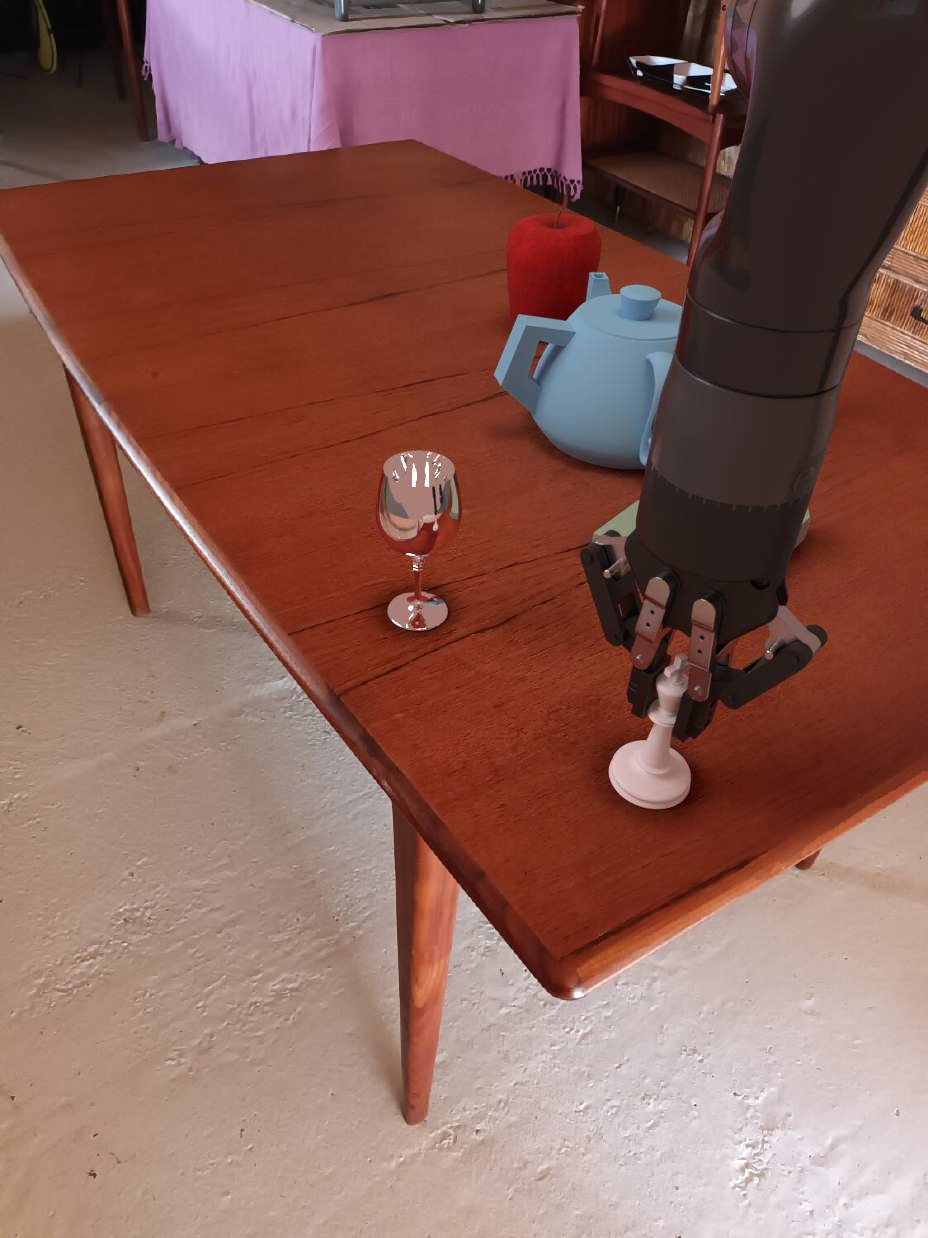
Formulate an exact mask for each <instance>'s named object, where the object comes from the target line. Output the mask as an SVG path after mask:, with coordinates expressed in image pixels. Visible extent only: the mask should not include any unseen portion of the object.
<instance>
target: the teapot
mask: <svg viewBox="0 0 928 1238" xmlns="http://www.w3.org/2000/svg"><path fill="white" fill-rule="evenodd" d="M661 297H662V293H661V291H659V290H658V289H656V288H654V287H652V286H649V285H645V284H629V285H625V286H622V288H620V290H619V293H612V290H611V286H610V278H609V277H608V275H607V274H606V272H602V271H601V272H598V271H597V272H590V274H589V282H588V289H587V297H586V302H584V303H583V304H582V305H580V307H579V308H578V309H577V310H576V311H575V312H574V313H573V314H572V315H571V316H570V317H569V318H568V319H567V321H563V320H556V319H549V318H542V317H535V316H527V315H520V314H518V317H517V319H516V322H515V321H514V325H513V327H512V329H511V332H510V334H509V336H508V339H507V342H506V344H505V347H504V349H503V351H502V353H501V356H500V359H499V361H498V364H497V366H496V368H495V371H494V373H493V376H494V377H495V379H496V380H497V383H498V384H499V386H500V387H501V388H502V389H503V390H504V391H505V392H506V393H508V394H509V396H511V397H513V399H515V401H517V403H519V404H520V405H522V407H523V408H525V409H526V410H527V411H528V412H529V413H530V414H531V417H532V419H533V420H534V422H535V424H536V425H537V426H538V428H539V430H540V431H541V432H542V434H543V435H544V436H545V437H546V438H547V439H548V440H549V442H550V443H551V444H552V445H553V446H554V447H556V448H557V449H558V450H559V451H561V452H563V453H564V454H566V455H568V456H570V457H572V458H574V459H577V460H579V461H582V462H585V463H587V464H591V465H593V466H598V467H604V468H609V469H618V470H645V469H646V464H647V458H648V453H649V448H650V443H651V437H652V432H651V426H652V422H653V418H654V416H655V414H656V412H657V407H658V402H659V398H660V393H661V390H662V387H663V384H664V381H665V378H666V375H667V373H668V370H669V367H670V364H671V361H672V357H673V353H674V349H675V343H676V338H677V333H678V328H679V323H680V318H681V313H682V308H683V306H681V305H679V304H677V303H675V302H673V301H670V300H667V299H664V298H661ZM540 342H544V343H547V344H548V345H547V346H546V347H545V350H544V351H543V353H542V355H541V357H540V359H539V361H538V363H537V365H536V368H535V371H534V373H533V375H531V374H530V371H531V367H532V364H533V361H534V358H535V356H536V352H537V348H538V346H539V343H540Z"/></svg>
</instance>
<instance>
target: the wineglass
mask: <svg viewBox="0 0 928 1238" xmlns="http://www.w3.org/2000/svg"><path fill="white" fill-rule="evenodd" d="M461 494H462V493H461V488H460V484H459V479H458V474H457V471H456V468H455V465H454V463H453V462H452V461H451V460H450V459H449V458H448V457H446V456H445V455H443V454H440V453H438V452H435V451H429V450H418V449H417V450H407V451H402V452H399V453H396V454H393V455H392V456H391V457H389V458H388V459H387V460H385V462H384V464H383V467H382V470H381V474H380V478H379V482H378V486H377V492H376V498H375V521H376V526H377V530H378V533H379V535H380V537H381V538H382V540H383V541H384V543H385V544H386V545H387V546H388V547H389V548H390V549H392V550H393V551H395V552H396V553H398V554H400V555H404V556H407V557H410V563H411V567H412V570H413V576H414V591H413V590H412V591H407V592H404V593H401V594H399V595H396V596H395V597H393V599H391V601H390V602H389V603H388V606H387V610H386V611H387V612H386V613H387V616H388V619H389V620H390V622H391V623H393V624H394V625H395V626H397V627H398V628H401V629H403V630H407V631H412V632H414V631H415V632H424V631H429V630H432V629H435V628H437V627H439V626H441V625H442V624H443V623H444V622H445V621H446V620H447V618H448V615H449V609H448V605H447V603H446V602H445V601H444V600H443V599H442V598H441V597H440V596H438V595H436V594H434V593H432V592H428V591H422V577H423V572H424V568H425V566H426V558H427V557H431V556H434V555H437V554H440V553H441V552H443V551H445V550H446V549H447V548H449V547H450V545H451V544H453V543H454V541H455V540H456V537H457V536H458V533H459V531H460V529H461V528H460V527H461V523H462V515H463V507H462V506H463V504H462V495H461Z"/></svg>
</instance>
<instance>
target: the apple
mask: <svg viewBox="0 0 928 1238" xmlns="http://www.w3.org/2000/svg"><path fill="white" fill-rule="evenodd" d="M602 244H603V240H602V237H601V233H600V232H599V230H598V228H597V227H596V225H595V223H594V221H593V220H591V219H590V218H588V217H586V216H584V215H577V214H567V213H562V210H561V208H558V211H557V213H542V214H536V215H530V216H527V217H523V218H521V219H519V220H518V221H517V222H516V223H515V224H514V226H513V227H512V228H511V230H510V231H509V232H508V235H507V240H506V248H505V264H506V281H507V294H508V303H509V304H508V307H509V314H510V318H511V319H512V320H513V321H514V323H515V322H516V319H517V317H518V314H520V315H527V316H535V317H542V318H549V319H556V320H563V321H567V319H568V318H569V317H570V316H571V315H572V314H573V313H574V312H575V311H576V310H577V309H578V308H579V307H580V305H582V304H583V303H584V302H586V297H587V289H588V282H589V274H590V272H598V269H599V266H600V261H601V252H602Z"/></svg>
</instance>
